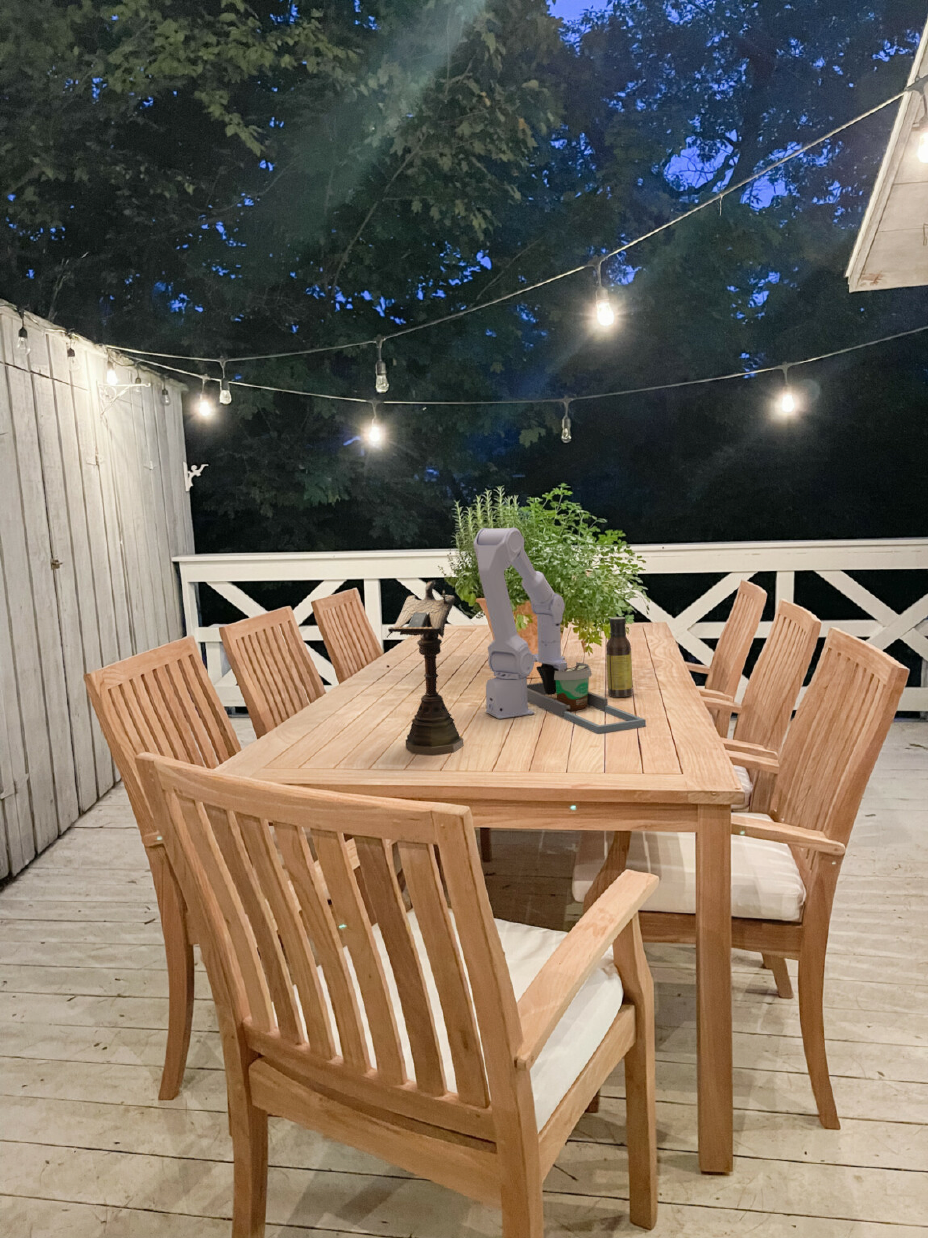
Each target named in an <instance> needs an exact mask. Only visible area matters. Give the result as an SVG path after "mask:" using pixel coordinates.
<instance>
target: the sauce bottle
mask: <svg viewBox="0 0 928 1238" xmlns="http://www.w3.org/2000/svg"><path fill="white" fill-rule="evenodd" d="M626 624H627V618H626V617H624V616H613V617H610V618H609V625H610V633H609V634H610V637H609V639H608V640H607V642H606V646H605V647H606V655H605V657H606V659H605V660H606V678H607V679H606V681H607V682H606V683H607V689H608V690H607V694H608V696H609V697H611V698H625V697H630V696H631V695H632V694H633V687H634V686H633V665H632V664H633V663H632V648H631V647H632V645H631V642H630V640H629V639H628V638H627V635H626V634H627V632H626Z"/></svg>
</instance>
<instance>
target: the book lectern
mask: <svg viewBox="0 0 928 1238" xmlns="http://www.w3.org/2000/svg"><path fill="white" fill-rule="evenodd" d="M435 586H436V580H434V579H433V580H430V581H428V582H427V583H426V584H425V587H424V590H425V596H424V598H423V599H418V598H417V595H408V596H407V597H406V598H405V599H406V600H405V601H404V604H403V606H402V609H401V612H400V613H399V615H398V617H397V619H396V622H395V623H394V625H393V627H392V626H390V627H389V628H388V629H387V630H388V634H387V636H386V638H388V637H389V636H390V635H392V634H393V633H399V635H400V636H403V635H405V636H414V637H415V636H420V639H418V640H417V642H416V644H417V645H418V647H419V648H418V653H419V654H420V655H422V656H423V658H424V668H425V669H424V675H423V677H424V678H425V692H424V695H422V696H421V698H420V701H421V702H420V704H419V707H418V710H417V711H416V714H414V715H413V717H414V718H413V719H412V720H411V722H412V723H411V725H410V729H409V733H408V734H407V736H406V738H407V739H405V748H406V749H407V750H408V751H409V752H410V753H411V754H414V755H415V754H416V755H427V756H439V755H444V754H451V753H454V752H456V751H458V750H460V749H461V748H462V747H464V742H465V741H464V738H463V737H462V736H460V734H459V732H458V731H457V727H456V724H455V722H454V721H455V718H453V717H452V714H451V713H450V712H449V710H448V708H447V707H446V704H445V702H444V697H443V696H442V695H440V693H439V692H438V691H437V683H438V681H437V678H438V677H439V675H438V673H437V655H439V654H441V644H442V643H443V641H442V639H443V638H444V636H445V627H446V626H445V625H446V622H447V621H448V616H449V615H450V612H451V610H452V609H453V606H454V604H455V601H456V597H455V596H454V595H449V594H446V591H445V590H444V589H443V590H442V595H441V594H440V597H441V599H436V598H435V596H434V593H433V592H434V591H433V589H434V588H435ZM407 624H408V625H407ZM405 625H407V626H405ZM439 636H440V637H441V638H442V639H441V638H439Z"/></svg>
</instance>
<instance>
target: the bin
mask: <svg viewBox="0 0 928 1238" xmlns="http://www.w3.org/2000/svg"><path fill="white" fill-rule="evenodd" d="M527 698H528V703H530V704H532V705H534V706H536V707H539V708H540V709H542V710H544V711H547V712H549V713H552V714H553V715H555V716H558V717H561V718H563V719H564V712H567V711H566V704H564V703H561V702H559V701H557V699H554V698H552V697H549V696H548V695H547V694H546V693H545V689H544V686H543V682H542V681H541V682H533V683H527ZM608 701H609V700H608V698H607V697H604V696H602V695H599V694H596V693H594V692H590V690H588V704H587V706H590V707H592V708H595V709H597V710H598V711H599V710H600V711H601V712H605V706H607V705H609V704H608ZM605 713H606V712H605Z"/></svg>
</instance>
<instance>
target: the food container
mask: <svg viewBox="0 0 928 1238" xmlns="http://www.w3.org/2000/svg"><path fill="white" fill-rule="evenodd" d="M592 675H593V673H592V670H591V667H590V665H589V664H587V663H583V662H577V661H576V664H575V666H573V667H567V669H565V670H564V671H555V674H554V680H555V681H556V693H555V695H556V700H557V701H559V702H561V703H564V704H566V711H568V712H570V713H572V712H580V711H584V710H587V709H588V705H587V704H588V691H589V684H590V683H589V682H590V677H591V676H592Z"/></svg>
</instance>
